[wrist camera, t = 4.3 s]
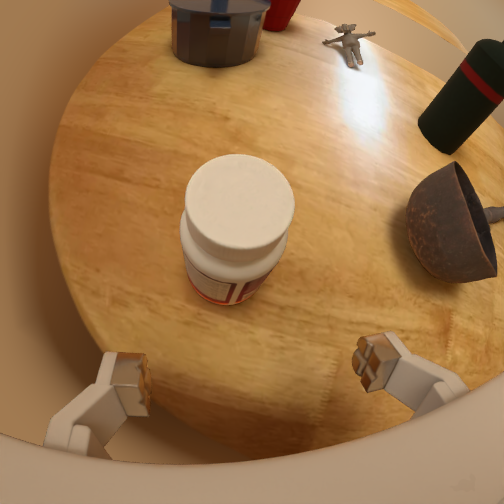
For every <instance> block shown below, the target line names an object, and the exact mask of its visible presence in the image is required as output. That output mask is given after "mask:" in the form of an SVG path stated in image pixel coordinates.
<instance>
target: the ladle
mask: <svg viewBox="0 0 504 504" xmlns="http://www.w3.org/2000/svg"><path fill="white" fill-rule="evenodd" d="M502 218H504V207H488V208H484V209H483V207H482V205H481V202H480V200H479V198H478V196H477V194H476V192H475V190H474V188H473V186H472V184H471V182H470V180H469V179H468V177H467V175H466V173H465V172H464V170H463V169H462V167H461V166H460V165H459V164H458V163H457V162H456V161H453V162H452V163H450V164H448V165H447V166H445V167H443V168H441V169H439V170H437V171H436V172H434V173H432V174H430V175H429V176H428V177H426V178H425V179H424V180H423V181H422V182H421V183H420V184H419V185H418V186H417V187H416V188H415V189H414V191H413V192H412V194H411V197H410V199H409V202H408V206H407V211H406V225H407V231H408V237H409V241H410V243H411V246H412V248H413V250H414V252H415V254H416V256H417V258H418V260H419V261H420V263H421V264H422V266H423V267H424V268H425V269H426V270H427V271H428V272H429V273H430V274H432V275H433V276H434V277H435V278H437V279H440V280H442V281H445V282H448V283H467V282H473V281H478V280H482V279H486V278H491V277H497V259H496V253H495V248H494V244H493V241H492V237H491V233H490V227H489V224H490V223H495V222H497V221H498V220H500V219H502Z"/></svg>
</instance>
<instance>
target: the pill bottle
mask: <svg viewBox="0 0 504 504" xmlns="http://www.w3.org/2000/svg"><path fill="white" fill-rule="evenodd" d="M294 210H295V200H294V195H293V191H292V188H291V186H290V184H289V182H288V181H287V179H286V178H285V177H284V175H283V174H282V173H281V172H280V171H279V170H278V169H277V168H276V167H274V166H273V165H271V164H270V163H268V162H266V161H264V160H262V159H260V158H257V157H254V156H250V155H244V154H230V155H224V156H220V157H217V158H214V159H212V160H210V161H208V162H206V163H205V164H204V165H202V166H201V167H200V168H199V169H198V170H197V171H196V172H195V173H194V174H193V176H192V177H191V179H190V181H189V183H188V186H187V189H186V193H185V209H184V211H183V214H182V217H181V221H180V240H181V244H182V249H183V254H184V259H185V264H186V269H187V274H188V277H189V280H190V282H191V285H192V286H193V288H194V289H195V290H196V292H197V293H198V294H199V295H200V296H202V297H203V298H204V299H206V300H208V301H210V302H212V303H215V304H220V305H232V304H237V303H240V302H242V301H244V300H246V299H248V298H249V297H251V296H252V295H253V294H254V293H255V292H256V291H257V289H258V288H259V287H260V286H261V284H262V283H263V282H264V280H265V279H266V278H267V276H268V275H269V274H270V272H271V271H272V269H273V268H274V267H275V266H276V265H277V263H278V262H279V260H280V258H281V256H282V254H283V252H284V250H285V247H286V243H287V238H288V227H289V226H290V224H291V222H292V219H293V215H294Z"/></svg>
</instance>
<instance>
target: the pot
mask: <svg viewBox="0 0 504 504" xmlns="http://www.w3.org/2000/svg"><path fill="white" fill-rule="evenodd" d="M265 15H266V11H265V12H263V13H260V14H255V15H247V16H210V15H199V14H192V13H187V12H183V11H179V10H176V9H174V8H173V7H172V50H173V53H174V55H175V56H176V57H177V58H178V59H180V60H181V61H183V62H186V63H189V64H192V65H196V66H202V67H230V66H236V65H240V64H243V63H246V62H248V61H250V60H251V59H252V58H253V57H254V56H255V55H256V52H257V50H258V46H259V42H260V37H261V33H262V28H263V24H264V20H265Z"/></svg>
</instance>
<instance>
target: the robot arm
mask: <svg viewBox="0 0 504 504" xmlns="http://www.w3.org/2000/svg"><path fill="white" fill-rule="evenodd" d="M357 346H358V349H357V350H356V351H355V352H354V353H353V357H352V366H353V369H354V371H355V373H356V374H357V375H359V376H361V381H360V382H361V384H362V385H363V387H364V389H365V390H366V392H367V393H368V392H373V391H377V390H381V389H384V390H385V391H387V392H388V393H389V394H391V395H392V396H394V397H395V398H397V399H398V400H399V401H401V402H402V403H404V404H405V405H407V406H408V407H410V408H411V409H412V410H414V411H415V413H414V414H413V416H412V417H411V418H410V420H409V421H407V422H404V423H402V424H399V425H397V426H394V427H391V428H389V429H386V430H383V431H380V432H377V433H374V434H371V435H368V436H365V437H362V438H358V439H355V440H352V441H348V442H344V443H341V444H337V445H333V446H329V447H325V448H321V449H316V450H312V451H307V452H302V453H297V454H292V455H286V456H280V457H274V458H267V459H260V460H252V461H243V462H231V463H217V464H182V465H181V464H178V465H177V464H151V463H150V464H149V463H136V462H125V461H116V460H112V459H111V457H110V456H109V454H108V453H107V452H106V450H105V449H104V446H105V445H106V444H107V443H108V441H109V440H110V439H111V438H112V436H113V435H114V434H115V433H116V431H117V430H118V429H119V428H120V426H121V425H122V424H123V423H124V421H125V420H126V419H127V416H131V417H150V406H151V402H150V399H149V395H150V394H151V393H152V377H151V372H150V369H149V368H148V367H147V362H148V360H147V357H146V354H144V353H125V352H107V351H106V352H105V354H104V355H103V359H102V362H101V365H100V369H99V372H98V376H97V379H96V383H95V384H91V385H90V386H88V387H87V388H86V389H85V390H84V391H83V392H81V393H80V394H79V395H78V396H77V397H75V398H74V399H73V400H72V401H71V402H69V403H68V404H67V405H66V406H65V407H64V408H62V409H61V410H60V411H59V412H58V413H56V414H55V415H54V416H53V417H52V418H51V419H50V422H49V426H48V429H47V432H46V436H45V440H44V443H43V446H40V445H36V444H32V443H29V442H26V441H23V440H20V439H17V438H14V437H11V436H8V435H5V434H2V433H0V504H504V371H503V372H502V373H500V374H499V375H497V376H495V377H494V378H492V379H491V380H489V381H487V382H486V383H484V384H482V385H481V386H479V387H477V388H475V389H474V390H472V391H470V390H469V388H468V387H467V386H466V385H465V383H464V382H463V381H462V380H461V379H460V377H459V376H458V375H457V374H456V373H454V372H452V371H450V370H448V369H446V368H444V367H441V366H439V365H437V364H435V363H433V362H431V361H429V360H427V359H424V358H422V357H420V356H418V355H416V354H411V353H410V351H409V350H408V349H407V348H406V346H405V345H404V344H403V343H402V341H401V340H400V339H399V338H398V337H397V335H396V334H395V333H394V332H392V331H388V332H383V333H378V334H373V335H368V336H362V337H360V338H359V339H358V342H357Z"/></svg>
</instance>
